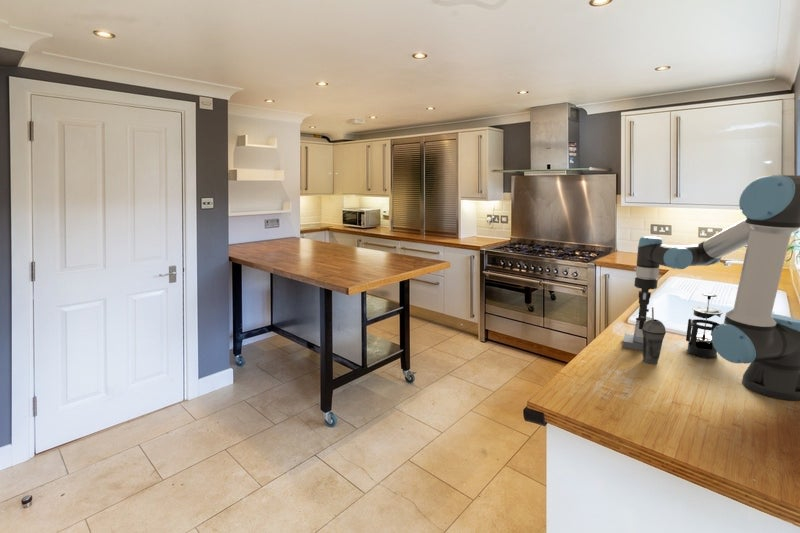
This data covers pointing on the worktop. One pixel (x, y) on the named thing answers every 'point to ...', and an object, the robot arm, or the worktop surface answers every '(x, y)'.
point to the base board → (631, 343)
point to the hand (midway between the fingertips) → (640, 332)
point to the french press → (701, 342)
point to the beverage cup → (652, 339)
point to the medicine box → (636, 339)
